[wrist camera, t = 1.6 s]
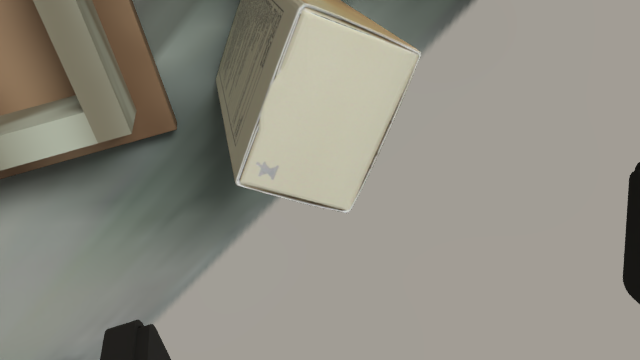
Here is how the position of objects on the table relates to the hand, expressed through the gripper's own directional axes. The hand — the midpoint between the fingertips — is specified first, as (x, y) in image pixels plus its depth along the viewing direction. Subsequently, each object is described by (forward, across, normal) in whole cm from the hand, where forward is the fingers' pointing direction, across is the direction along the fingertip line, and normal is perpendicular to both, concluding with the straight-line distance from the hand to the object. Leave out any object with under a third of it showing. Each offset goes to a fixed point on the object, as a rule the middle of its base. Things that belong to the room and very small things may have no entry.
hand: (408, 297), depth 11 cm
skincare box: (+21, 0, 0) cm, 21 cm away
